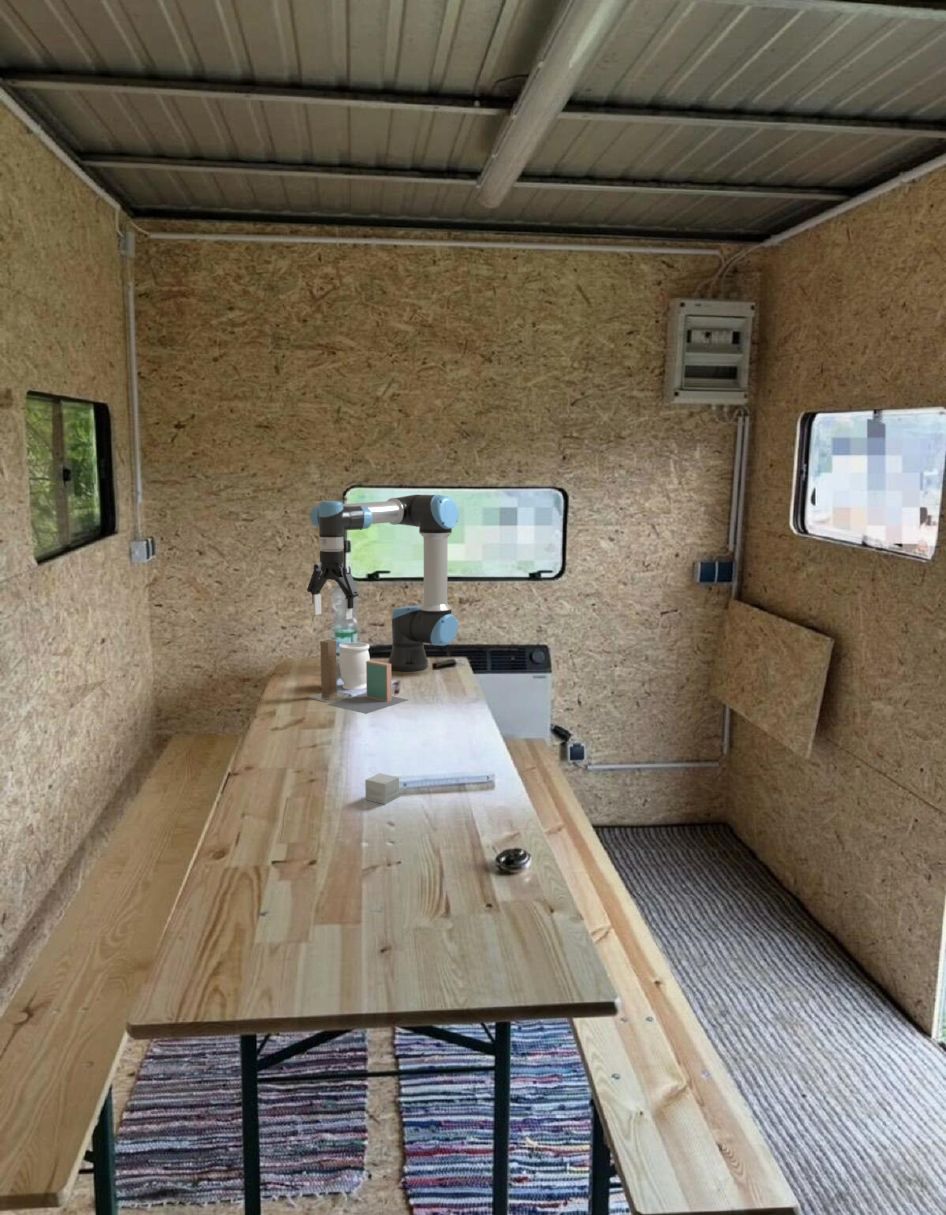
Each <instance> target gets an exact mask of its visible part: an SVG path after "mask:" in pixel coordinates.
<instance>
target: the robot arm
mask: <svg viewBox="0 0 946 1215" xmlns="http://www.w3.org/2000/svg"><path fill="white" fill-rule="evenodd" d="M458 508H459V507H458V506H457V504H456V502H455V501H454V499H452V498H451V497H449V496H448V495H441V494H410V495H405V496H400V497H391V498H388V499H387V500H386V501H373V502H356V503H343V502H342V501H341V500H323V501H320V502H319V504H318V505H315V506H313V507H312V509H311V510H310V514H309V517H310V518H309V519H310V522H311V524H312V525H313V526H314V527H317V528H318V534H319V536H318V537H319V539H318V540H319V541H318V542H319V550H320V551H319V562H320V563H315V564H313V572H312V574H311V577H310V579H309V584H308V586H307V588H306V591H307V592H308V593H311V595H312V596H311V599H312V605H313V615H314V616H318V615H322V594H321V591H322V589H323V587H324V586H325V584H326V583H327V582H328V581H329V580H331V581H335V582H336V583H337V584H338V586H339V588H340V589H341V591H342V593H343V594H344V596H345V597H344V600H343V601H344V608H343V609H344V620H350V619H353V609H354V598H357V597H359V591H358V588H357V586H356V583H355V581H354V578H353V576H352V570H351V569H352V568H351V567H350V566H343V563H344V561H345V560H344V558H345V556H344V554H345V553H344V552H345V551H343V550H344V548H345V546H344V531H354V530H355V531H356V530H357V531H359V530H360V531H362V530H366V529H368V528H370V527H371V526H372V525H375V524H376V525H377V524H387V523H388V524H390V525H403V526H404V525H405V526H410V527H416V528H417V527H419V529H418V530H419V531H418V533H419V534H420V535H421V537H422V538H423V604H422V605H409V606H408V605H407V606H401V607H396V608H394V609H393V610H392V612H391V613H392V615H391V616H392V617H391V628H392V629H391V634H392V635H391V636H392V648H391V651H390V654H389V659H388V661H387V663H389V664H391V671H392V670H393V671H400V672H417V671H422V670H425V669H427V668H429V660H428V658H427V654H426V650H425V647H424V644H428V645H433V646H442V647H443V646H447V645H450V644H451V643H452V642H453V640H454V639H455V637H456V635H457V633H458V629H459V620H458V619H457V617H456V616H455V615H454V614H452V607H451V606H450V604H449V603H448V537H450V535H451V534H452V533H453V532H452V531H453V528H455V527H456V526H457V523H458V520H459V516H460V515H459V514H460V513H459V509H458Z"/></svg>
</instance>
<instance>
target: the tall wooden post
mask: <svg viewBox="0 0 946 1215" xmlns="http://www.w3.org/2000/svg"><path fill="white" fill-rule="evenodd" d="M319 646H320V679H321V680H320V681H321V683H320V684H321V692H320V693H319V694H316V695H311V696H309V699H311V700H315V701H320V702H324V703H331V702H332V701H336V700H337V701H338V700H340V699H343V698H346V697H350V694H349V693H345V692H340V691H338V679H337V677H338V676H337V675H338V674H337V673H338V672H337V669H338V668H337V641H336V640H332V639H326V640H321V641H320V645H319Z"/></svg>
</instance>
